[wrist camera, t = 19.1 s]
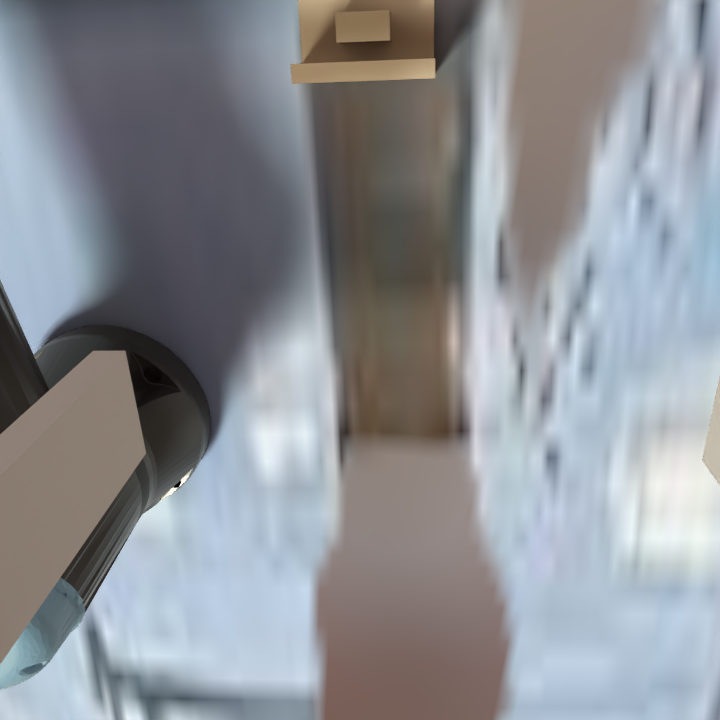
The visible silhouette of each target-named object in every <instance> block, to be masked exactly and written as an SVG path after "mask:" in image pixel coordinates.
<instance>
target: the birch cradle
mask: <svg viewBox="0 0 720 720" xmlns="http://www.w3.org/2000/svg"><path fill="white" fill-rule="evenodd" d="M298 7H299V22H300V37H301V51H302V64H291V74H292V84H296V83H322V82H347V81H373V80H399V79H425V78H435V58H434V0H298Z"/></svg>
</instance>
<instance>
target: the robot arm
mask: <svg viewBox="0 0 720 720" xmlns="http://www.w3.org/2000/svg"><path fill="white" fill-rule="evenodd" d="M209 436H210V413H209V408H208V404H207V401H206V398H205V395H204V393H203V391H202V389H201V387H200V385H199V383H198V381H197V380H196V378H195V377H194V375H193V374H192V373H191V371H190V370H189V369H188V368H187V366H186V365H185V364H184V363H183V362H182V361H181V360H180V359H179V358H178V357H177V356H176V355H175V354H173V353H172V352H171V351H170V350H168V349H167V348H166V347H164V346H163V345H161V344H160V343H158V342H156V341H154V340H153V339H151V338H149V337H147V336H144V335H142V334H139V333H137V332H134V331H131V330H127V329H123V328H118V327H112V326H87V327H81V328H77V329H73V330H70V331H68V332H65V333H63V334H61V335H59V336H57V337H56V338H54V339H53V340H51V341H50V342H48V343H47V344H46V345H45V346H43V347H42V348H41V349H39V350H38V351H37V352H36V353H35V354H33V353H32V350H31V348H30V346H29V344H28V341H27V339H26V337H25V335H24V332H23V330H22V328H21V326H20V323H19V321H18V319H17V317H16V314H15V312H14V310H13V308H12V305H11V303H10V301H9V299H8V296H7V294H6V292H5V290H4V287H3V285H2V283H1V281H0V690H1V689H6V688H9V687H12V686H15V685H17V684H20V683H22V682H24V681H26V680H28V679H29V678H31V677H32V676H34V675H35V674H37V673H38V672H39V671H41V670H42V669H43V668H44V667H45V666H46V665H47V664H48V663H49V662H50V660H51V659H52V658H53V656H54V655H55V653H56V652H57V651H58V649H59V648H60V646H61V645H62V643H63V642H64V641H65V639H66V638H67V636H68V635H69V634H70V632H72V631H73V630H75V629H76V627H77V626H78V624H79V623H80V622H81V621H82V619H83V616H84V614H85V612H86V610H87V608H88V607H89V605H90V603H91V601H92V600H93V598H94V596H95V594H96V593H97V591H98V589H99V587H100V586H101V584H102V582H103V581H104V579H105V577H106V575H107V574H108V572H109V570H110V568H111V567H112V565H113V563H114V561H115V560H116V558H117V556H118V554H119V553H120V551H121V549H122V548H123V546H124V544H125V542H126V541H127V539H128V537H129V535H130V534H131V532H132V530H133V528H134V527H135V525H136V523H137V522H138V520H139V518H140V517H141V515H142V514H143V513H145V512H146V511H148V510H149V509H151V508H152V507H153V506H155V505H156V504H157V503H158V502H159V501H160V500H162V499H164V498H166V497H168V496H169V495H171V494H172V493H174V492H175V491H177V490H178V489H179V488H180V487H181V486H182V485H183V484H184V483H185V482H186V481H187V480H188V479H189V478H190V476H191V475H192V474H193V472H194V471H195V469H196V467H197V465H198V464H199V462H200V460H201V458H202V456H203V454H204V452H205V450H206V447H207V444H208V441H209ZM702 461H703V462H704V464H705V465H706V466H707V468H708V469H709V471H710V472H711V474H712V475H713V476H714V478H715V479H716V481H717V482H718V484H719V485H720V377H719V382H718V387H717V392H716V396H715V401H714V406H713V411H712V415H711V420H710V425H709V430H708V435H707V439H706V444H705V449H704V454H703V458H702Z"/></svg>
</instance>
